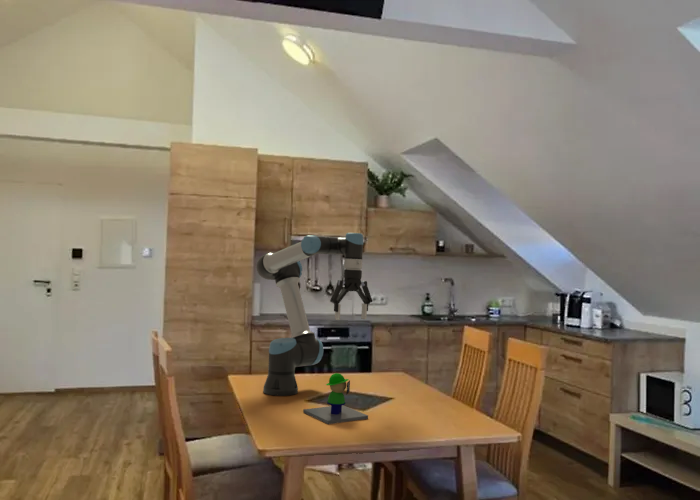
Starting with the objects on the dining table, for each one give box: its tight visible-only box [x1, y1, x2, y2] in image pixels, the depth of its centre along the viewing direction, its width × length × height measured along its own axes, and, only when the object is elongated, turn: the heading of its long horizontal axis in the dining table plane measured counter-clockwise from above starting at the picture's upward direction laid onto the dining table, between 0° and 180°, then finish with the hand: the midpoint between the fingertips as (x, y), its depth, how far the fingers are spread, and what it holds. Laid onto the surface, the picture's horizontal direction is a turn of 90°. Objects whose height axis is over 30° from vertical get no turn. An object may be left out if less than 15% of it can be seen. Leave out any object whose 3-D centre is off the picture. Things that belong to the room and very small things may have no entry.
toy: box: [325, 372, 351, 415], centre depth 233 cm, size 9×9×15 cm
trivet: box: [302, 405, 369, 425], centre depth 233 cm, size 18×18×1 cm
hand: (350, 319), depth 257 cm, fingers open, 13 cm apart
